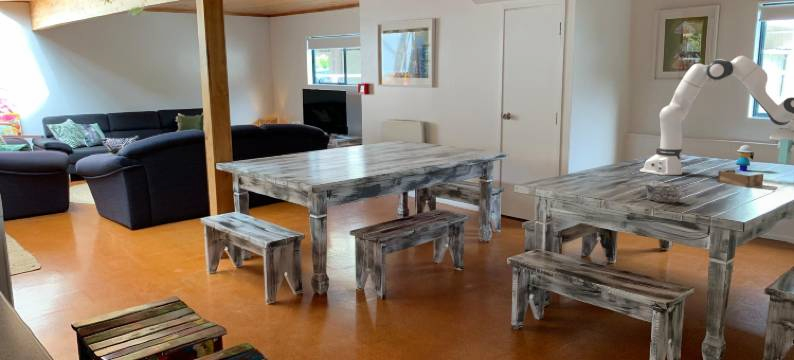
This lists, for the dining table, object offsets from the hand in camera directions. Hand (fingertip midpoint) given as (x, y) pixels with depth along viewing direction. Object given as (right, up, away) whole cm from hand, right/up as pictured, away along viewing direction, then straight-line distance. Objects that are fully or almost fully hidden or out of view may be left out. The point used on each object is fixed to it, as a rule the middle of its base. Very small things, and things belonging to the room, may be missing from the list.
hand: (784, 150), depth 313 cm
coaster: (-10, -20, -2) cm, 22 cm away
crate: (-17, -18, +9) cm, 26 cm away
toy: (+8, -10, +52) cm, 54 cm away
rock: (-74, -25, -29) cm, 83 cm away
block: (+1, -6, +2) cm, 7 cm away
